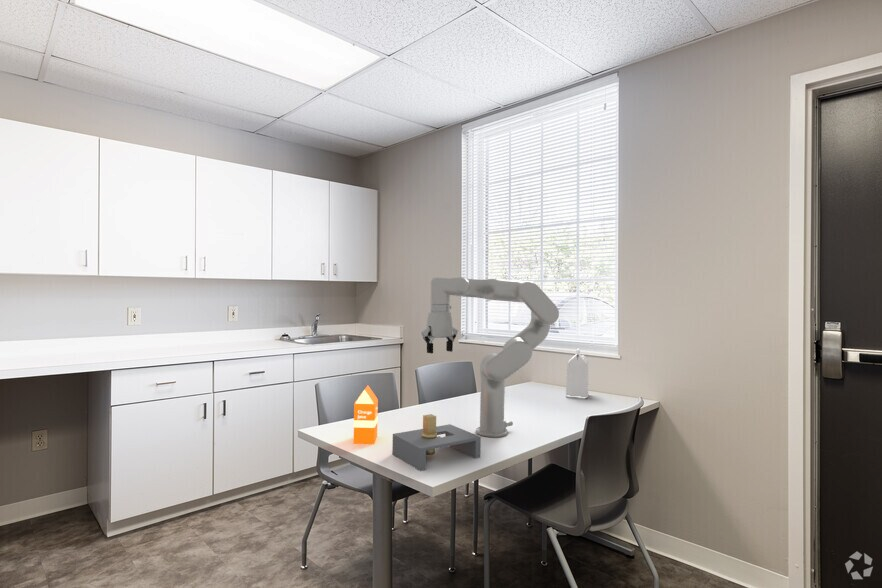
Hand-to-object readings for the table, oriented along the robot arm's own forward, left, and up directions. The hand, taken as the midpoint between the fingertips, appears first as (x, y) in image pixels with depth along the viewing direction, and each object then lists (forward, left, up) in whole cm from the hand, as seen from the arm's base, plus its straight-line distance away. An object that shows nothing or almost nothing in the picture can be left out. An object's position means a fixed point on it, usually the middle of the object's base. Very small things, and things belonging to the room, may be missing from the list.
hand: (439, 352), depth 190 cm
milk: (-105, -19, -32) cm, 112 cm away
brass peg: (+18, +22, -31) cm, 42 cm away
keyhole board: (+16, +22, -32) cm, 42 cm away
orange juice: (+29, -6, -32) cm, 44 cm away
